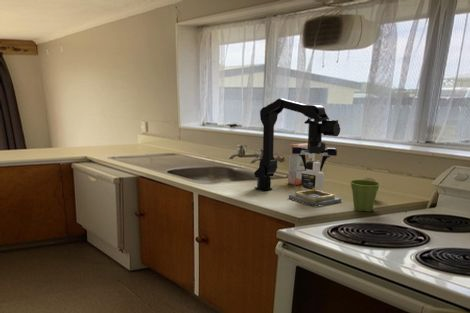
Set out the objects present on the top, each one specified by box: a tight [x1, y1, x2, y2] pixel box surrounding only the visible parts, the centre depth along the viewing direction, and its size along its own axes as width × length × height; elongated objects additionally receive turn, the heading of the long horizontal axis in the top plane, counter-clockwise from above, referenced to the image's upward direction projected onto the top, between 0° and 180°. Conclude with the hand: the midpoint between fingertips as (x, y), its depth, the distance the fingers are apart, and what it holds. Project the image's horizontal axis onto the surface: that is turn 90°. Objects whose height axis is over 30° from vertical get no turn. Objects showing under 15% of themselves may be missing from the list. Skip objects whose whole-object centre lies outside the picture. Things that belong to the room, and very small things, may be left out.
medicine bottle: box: [300, 160, 325, 191], centre depth 169 cm, size 7×7×12 cm
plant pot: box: [349, 179, 382, 213], centre depth 158 cm, size 12×12×11 cm
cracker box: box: [287, 142, 316, 186], centre depth 204 cm, size 14×6×21 cm, turn 129°
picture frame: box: [288, 189, 342, 207], centre depth 171 cm, size 16×16×3 cm
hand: (313, 170), depth 169 cm, fingers closed on medicine bottle, 6 cm apart
